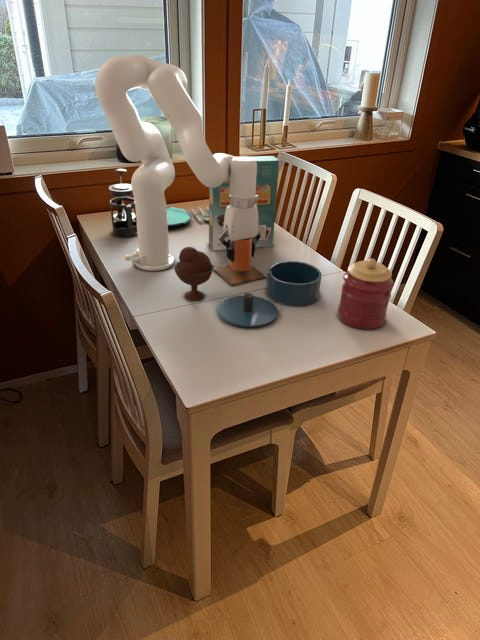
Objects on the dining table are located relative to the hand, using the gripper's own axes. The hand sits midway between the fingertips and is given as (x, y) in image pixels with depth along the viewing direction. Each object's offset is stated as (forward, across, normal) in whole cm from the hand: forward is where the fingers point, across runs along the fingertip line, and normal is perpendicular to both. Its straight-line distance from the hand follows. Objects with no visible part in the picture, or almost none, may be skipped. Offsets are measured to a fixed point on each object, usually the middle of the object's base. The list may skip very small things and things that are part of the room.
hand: (240, 257), depth 156 cm
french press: (+6, +21, -47) cm, 52 cm away
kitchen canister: (+6, -17, +38) cm, 42 cm away
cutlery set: (+6, -2, -52) cm, 52 cm away
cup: (+3, 0, 0) cm, 3 cm away
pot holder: (+6, 0, 0) cm, 6 cm away
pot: (+6, -8, +18) cm, 20 cm away
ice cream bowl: (+6, +19, +7) cm, 21 cm away
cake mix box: (+6, -12, -20) cm, 24 cm away
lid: (+5, +10, +22) cm, 25 cm away
